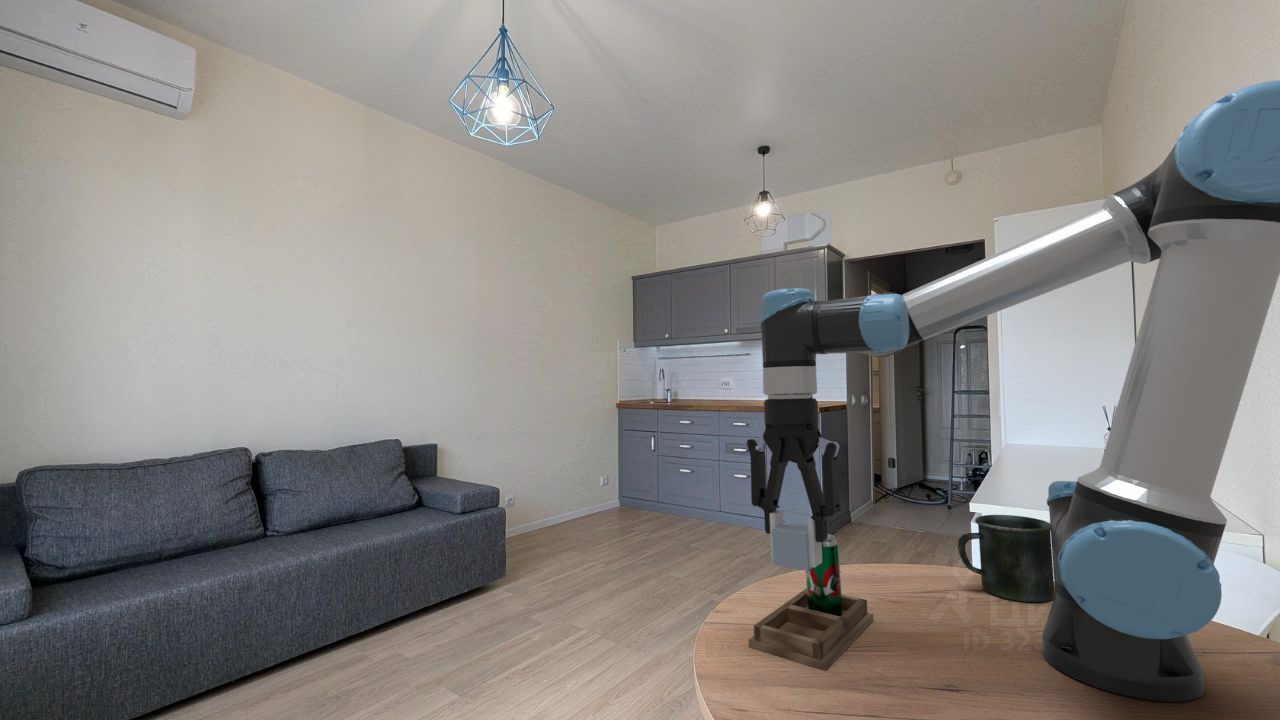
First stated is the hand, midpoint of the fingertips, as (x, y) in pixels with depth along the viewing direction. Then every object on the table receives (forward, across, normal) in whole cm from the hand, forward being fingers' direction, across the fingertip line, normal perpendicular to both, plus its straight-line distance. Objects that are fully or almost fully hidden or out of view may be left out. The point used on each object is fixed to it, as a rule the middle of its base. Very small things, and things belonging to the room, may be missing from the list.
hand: (796, 560), depth 78 cm
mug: (+12, -20, -39) cm, 45 cm away
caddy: (+12, 0, -4) cm, 12 cm away
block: (0, 0, 0) cm, 1 cm away
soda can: (+11, 0, -9) cm, 14 cm away
